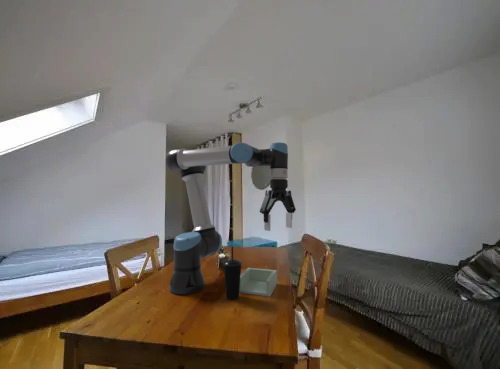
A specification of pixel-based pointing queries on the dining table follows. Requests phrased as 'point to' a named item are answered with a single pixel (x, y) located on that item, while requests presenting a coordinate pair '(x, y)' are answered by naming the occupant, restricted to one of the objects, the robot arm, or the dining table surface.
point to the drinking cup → (232, 277)
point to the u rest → (258, 281)
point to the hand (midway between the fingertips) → (278, 229)
